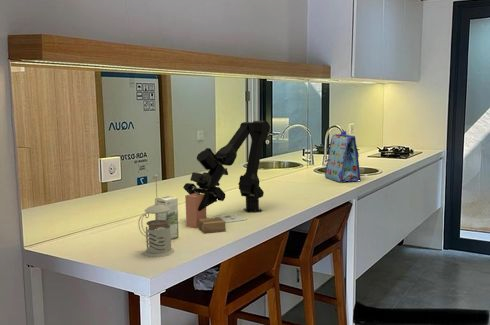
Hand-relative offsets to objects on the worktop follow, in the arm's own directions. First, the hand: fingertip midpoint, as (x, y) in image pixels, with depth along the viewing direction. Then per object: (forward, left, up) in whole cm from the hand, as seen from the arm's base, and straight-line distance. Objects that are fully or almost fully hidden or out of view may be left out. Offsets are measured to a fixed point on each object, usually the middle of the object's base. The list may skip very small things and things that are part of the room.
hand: (193, 209), depth 192 cm
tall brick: (-1, +1, -7) cm, 7 cm away
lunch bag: (-75, +106, -7) cm, 130 cm away
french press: (+28, -18, -7) cm, 34 cm away
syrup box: (+13, -12, -7) cm, 19 cm away
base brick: (+8, +5, -7) cm, 11 cm away
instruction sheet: (-7, +17, -7) cm, 19 cm away
